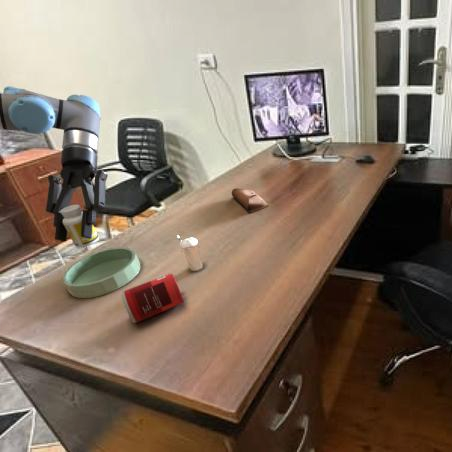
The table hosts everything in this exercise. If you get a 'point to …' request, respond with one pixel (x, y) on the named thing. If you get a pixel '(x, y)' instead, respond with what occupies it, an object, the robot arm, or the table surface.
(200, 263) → the milkshake
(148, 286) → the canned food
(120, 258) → the pan
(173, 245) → the table surface
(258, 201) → the sunglasses case
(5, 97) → the robot arm
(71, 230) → the supplement bottle
